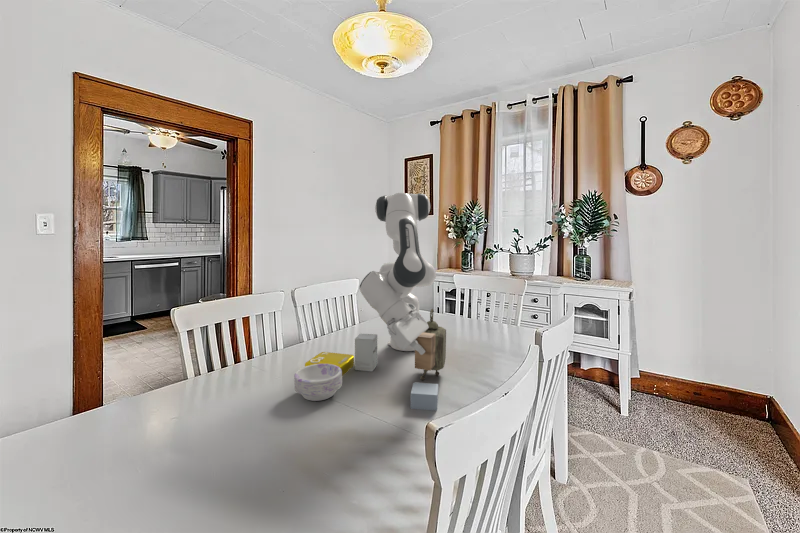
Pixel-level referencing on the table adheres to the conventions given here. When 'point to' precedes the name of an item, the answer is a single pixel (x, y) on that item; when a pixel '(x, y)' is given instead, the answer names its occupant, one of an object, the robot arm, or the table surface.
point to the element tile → (333, 360)
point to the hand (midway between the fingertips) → (427, 349)
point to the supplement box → (366, 352)
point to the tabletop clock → (437, 345)
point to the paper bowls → (318, 381)
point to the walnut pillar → (428, 357)
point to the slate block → (424, 396)
